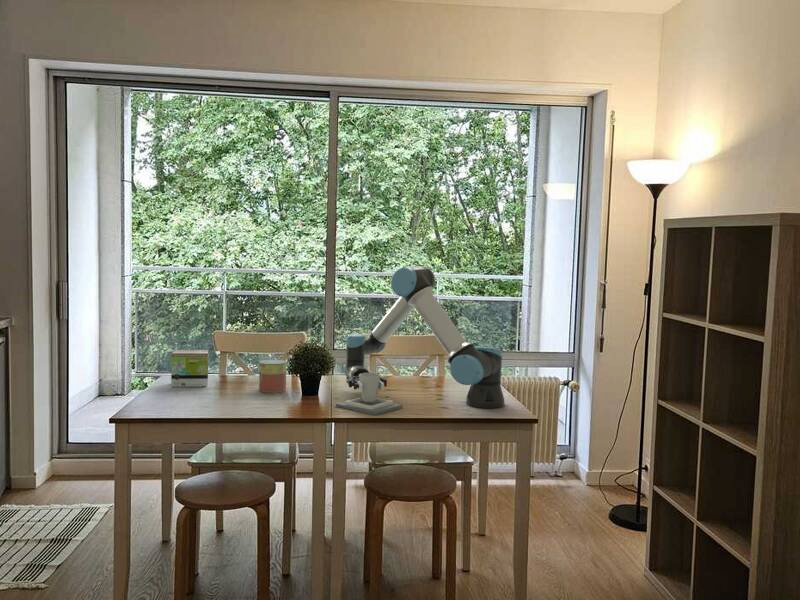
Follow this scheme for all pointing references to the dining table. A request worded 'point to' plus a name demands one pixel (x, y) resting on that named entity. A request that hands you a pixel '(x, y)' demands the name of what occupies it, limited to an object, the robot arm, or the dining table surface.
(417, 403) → the dining table surface
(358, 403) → the grey rectangular frame
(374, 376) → the cup
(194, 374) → the tea box
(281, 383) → the canned food
